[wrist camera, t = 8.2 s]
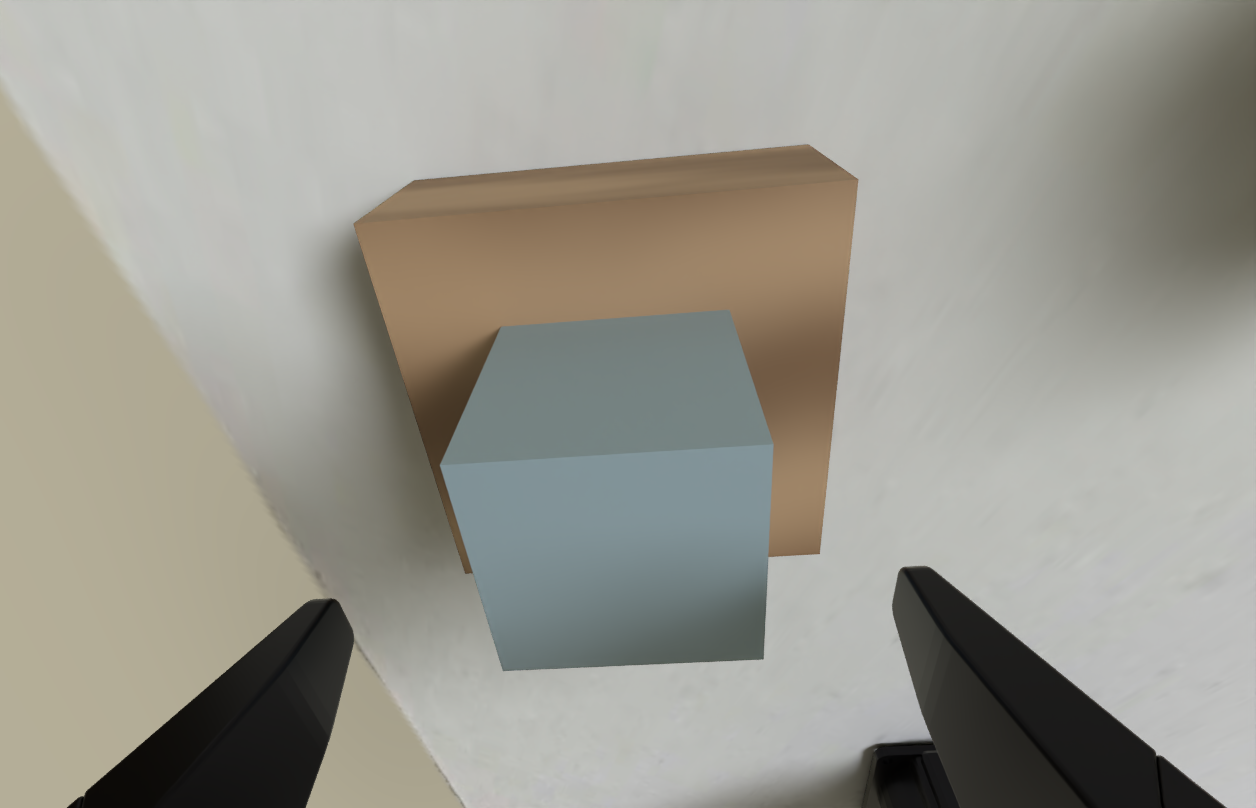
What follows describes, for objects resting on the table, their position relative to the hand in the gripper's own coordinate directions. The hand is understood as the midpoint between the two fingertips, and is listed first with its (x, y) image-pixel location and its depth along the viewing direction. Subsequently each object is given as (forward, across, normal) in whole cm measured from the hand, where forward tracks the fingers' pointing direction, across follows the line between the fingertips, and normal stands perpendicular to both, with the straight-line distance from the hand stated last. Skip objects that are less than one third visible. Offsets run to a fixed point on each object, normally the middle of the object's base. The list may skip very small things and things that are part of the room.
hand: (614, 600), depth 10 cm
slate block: (+6, 0, 0) cm, 6 cm away
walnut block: (+10, 0, 0) cm, 10 cm away
